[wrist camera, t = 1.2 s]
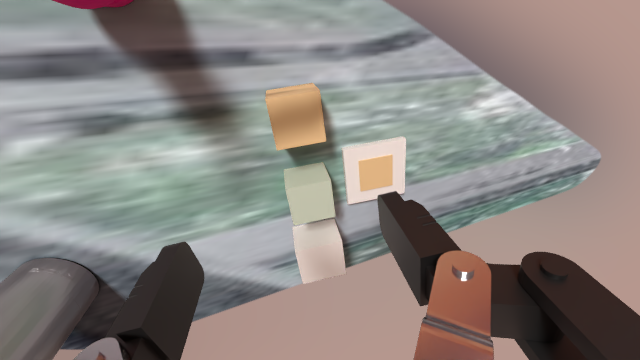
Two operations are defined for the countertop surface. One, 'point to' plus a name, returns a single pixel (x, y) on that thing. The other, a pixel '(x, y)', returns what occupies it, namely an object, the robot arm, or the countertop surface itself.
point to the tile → (374, 169)
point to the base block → (319, 250)
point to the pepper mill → (94, 3)
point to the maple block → (296, 115)
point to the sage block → (309, 193)
